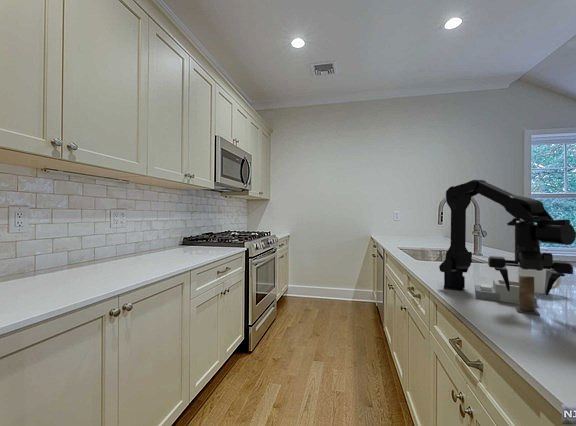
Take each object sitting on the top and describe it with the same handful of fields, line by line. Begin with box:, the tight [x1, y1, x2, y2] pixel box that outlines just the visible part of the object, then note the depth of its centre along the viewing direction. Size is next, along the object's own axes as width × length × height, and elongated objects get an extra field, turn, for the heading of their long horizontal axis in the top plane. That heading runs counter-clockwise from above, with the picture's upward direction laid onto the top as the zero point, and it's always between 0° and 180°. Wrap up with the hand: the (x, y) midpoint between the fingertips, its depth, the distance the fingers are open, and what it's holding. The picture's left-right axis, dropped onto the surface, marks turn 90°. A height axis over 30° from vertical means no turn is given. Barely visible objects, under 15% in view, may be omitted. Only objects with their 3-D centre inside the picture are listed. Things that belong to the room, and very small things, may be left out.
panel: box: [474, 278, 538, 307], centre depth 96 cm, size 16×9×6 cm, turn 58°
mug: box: [517, 263, 562, 295], centre depth 103 cm, size 12×8×10 cm
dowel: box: [518, 275, 536, 312], centre depth 83 cm, size 4×4×10 cm
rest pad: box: [514, 305, 541, 317], centre depth 83 cm, size 5×5×1 cm
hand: (526, 293), depth 83 cm, fingers open, 8 cm apart
